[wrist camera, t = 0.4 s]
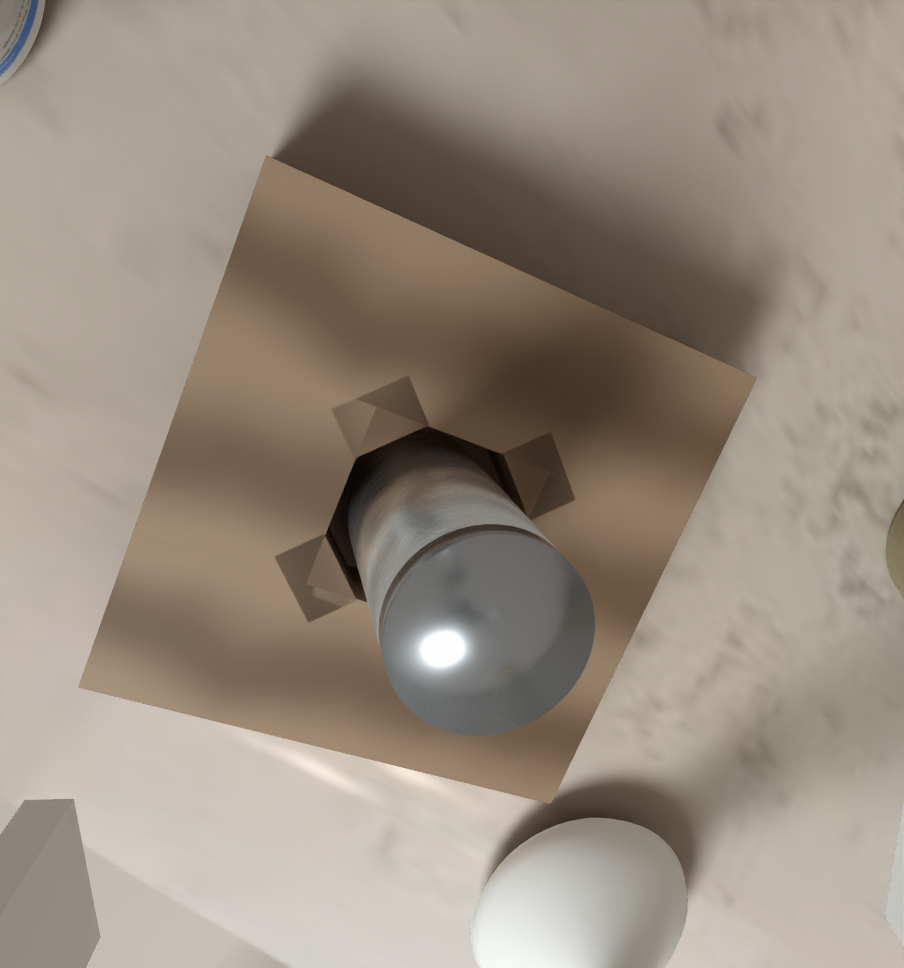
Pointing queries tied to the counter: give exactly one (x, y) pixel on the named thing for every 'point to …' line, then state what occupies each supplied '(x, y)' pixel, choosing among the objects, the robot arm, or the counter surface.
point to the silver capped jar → (463, 589)
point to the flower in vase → (583, 900)
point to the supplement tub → (17, 32)
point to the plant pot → (896, 550)
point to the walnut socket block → (367, 426)
